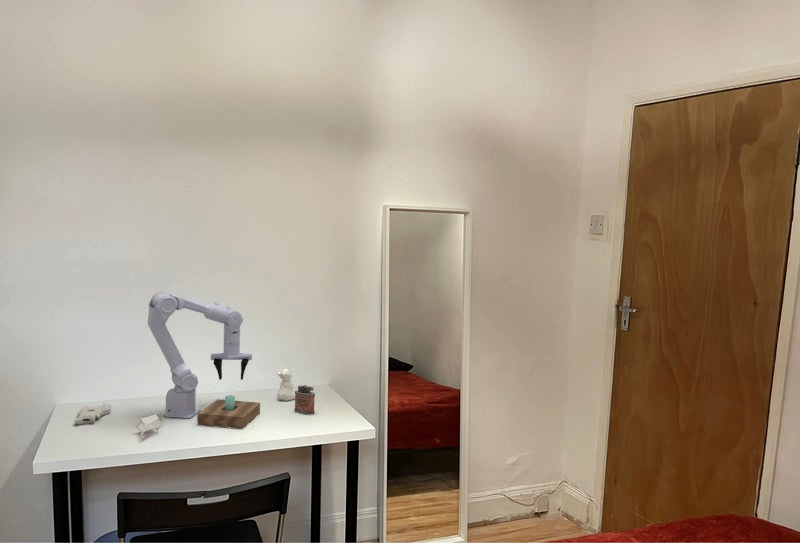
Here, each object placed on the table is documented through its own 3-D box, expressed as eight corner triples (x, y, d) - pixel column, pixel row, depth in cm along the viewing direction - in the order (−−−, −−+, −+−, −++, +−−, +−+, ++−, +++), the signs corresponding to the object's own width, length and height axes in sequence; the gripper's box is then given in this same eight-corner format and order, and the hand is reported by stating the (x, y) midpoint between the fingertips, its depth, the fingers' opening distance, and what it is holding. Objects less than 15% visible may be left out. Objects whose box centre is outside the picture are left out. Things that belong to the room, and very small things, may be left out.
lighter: (292, 411, 218) (293, 385, 217) (297, 409, 221) (298, 382, 220) (311, 415, 215) (312, 388, 214) (316, 412, 218) (317, 386, 217)
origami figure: (134, 429, 195) (134, 415, 195) (162, 427, 198) (162, 413, 197) (131, 443, 184) (131, 427, 183) (160, 440, 187) (160, 425, 186)
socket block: (197, 425, 201) (197, 413, 201) (217, 410, 217) (217, 399, 216) (243, 428, 199) (243, 417, 199) (259, 413, 215) (260, 402, 215)
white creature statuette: (303, 397, 236) (303, 367, 235) (291, 403, 228) (292, 372, 226) (282, 394, 239) (283, 364, 238) (270, 400, 231) (271, 369, 230)
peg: (223, 420, 207) (223, 397, 206) (226, 417, 210) (227, 395, 209) (232, 421, 206) (232, 398, 205) (235, 417, 209) (236, 395, 209)
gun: (107, 414, 199) (73, 417, 195) (107, 424, 199) (73, 427, 195) (111, 400, 215) (80, 403, 212) (111, 409, 216) (80, 412, 212)
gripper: (209, 344, 214) (208, 381, 215) (250, 345, 216) (250, 381, 218) (212, 340, 221) (212, 376, 222) (252, 341, 223) (252, 376, 224)
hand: (231, 378), depth 220 cm, fingers open, 7 cm apart
